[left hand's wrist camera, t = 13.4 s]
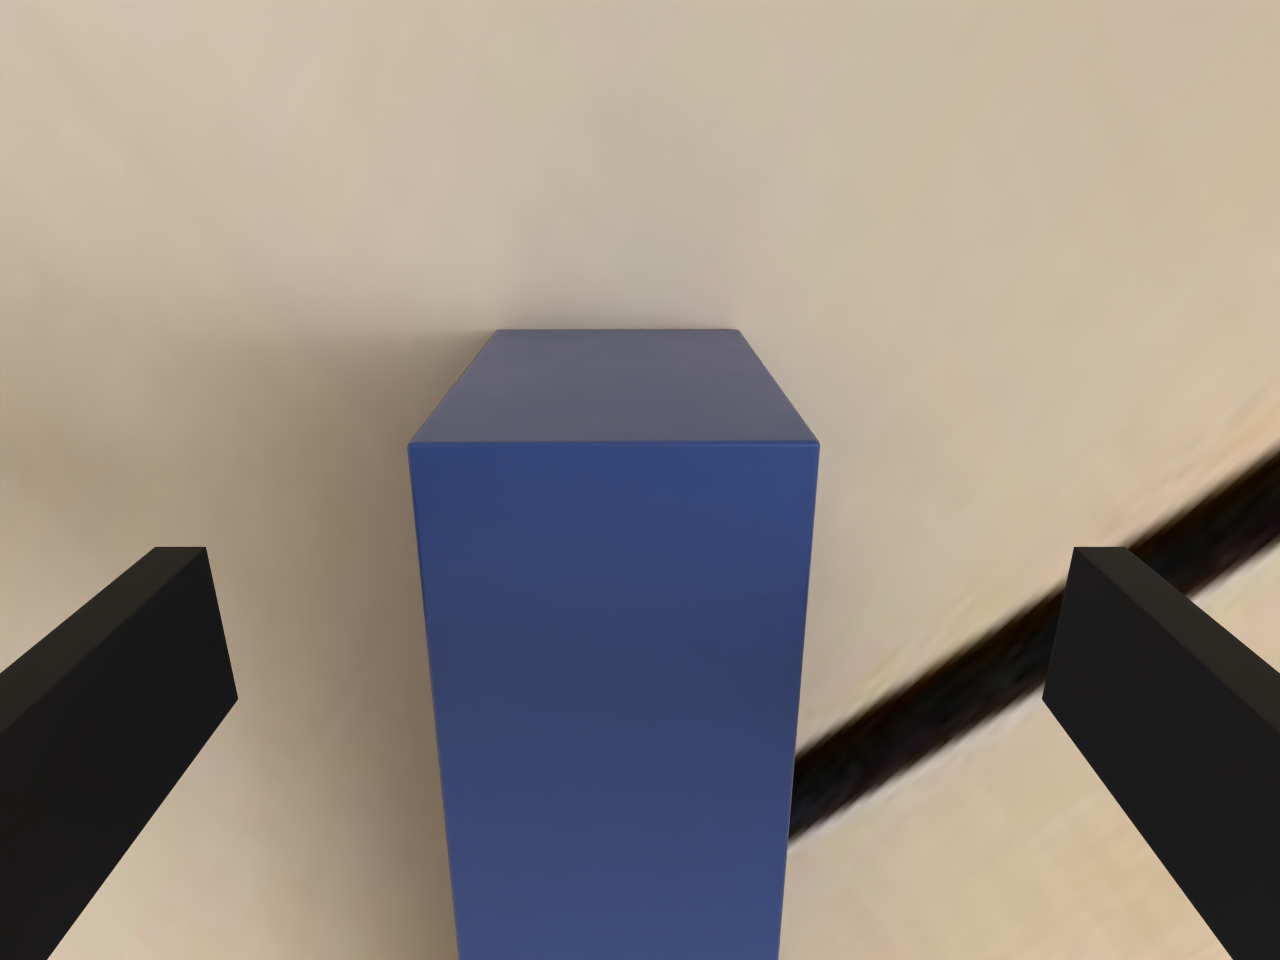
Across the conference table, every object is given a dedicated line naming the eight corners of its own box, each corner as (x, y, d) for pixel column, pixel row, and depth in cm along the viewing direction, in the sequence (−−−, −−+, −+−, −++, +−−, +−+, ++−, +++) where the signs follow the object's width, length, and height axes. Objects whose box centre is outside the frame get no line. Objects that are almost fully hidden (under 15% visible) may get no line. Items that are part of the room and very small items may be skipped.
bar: (495, 329, 19) (405, 443, 11) (739, 329, 19) (821, 441, 11) (540, 1102, 28) (508, 1466, 20) (705, 1099, 28) (738, 1460, 20)
